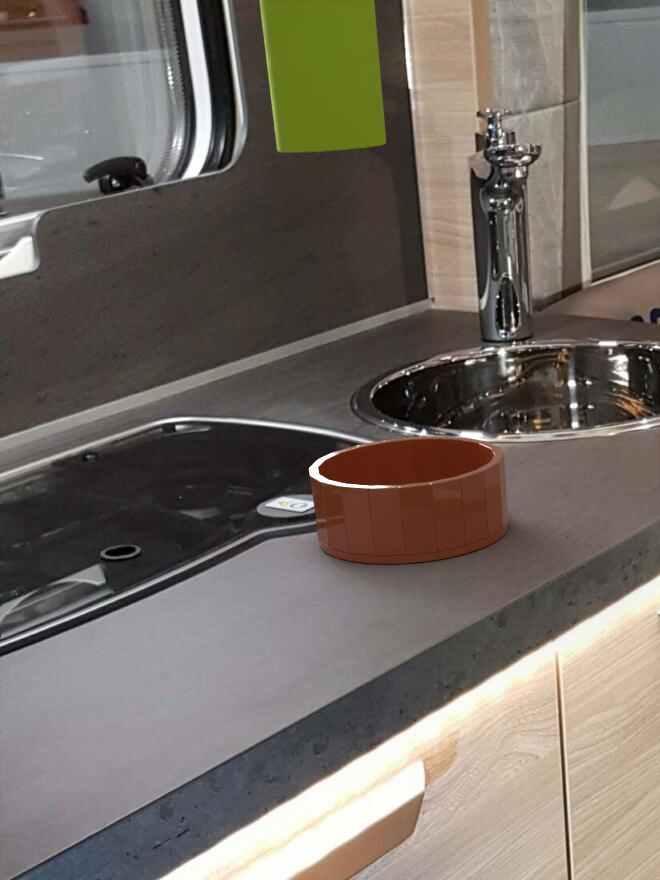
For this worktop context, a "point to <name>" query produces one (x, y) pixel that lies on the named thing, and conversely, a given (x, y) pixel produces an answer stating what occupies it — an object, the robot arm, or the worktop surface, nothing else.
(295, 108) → the soap dispenser
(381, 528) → the bowl
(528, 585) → the worktop surface
